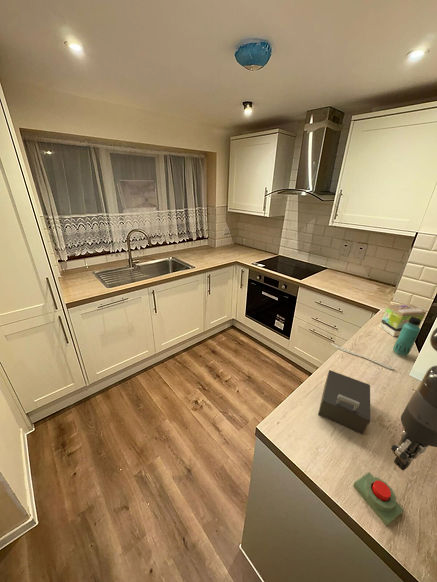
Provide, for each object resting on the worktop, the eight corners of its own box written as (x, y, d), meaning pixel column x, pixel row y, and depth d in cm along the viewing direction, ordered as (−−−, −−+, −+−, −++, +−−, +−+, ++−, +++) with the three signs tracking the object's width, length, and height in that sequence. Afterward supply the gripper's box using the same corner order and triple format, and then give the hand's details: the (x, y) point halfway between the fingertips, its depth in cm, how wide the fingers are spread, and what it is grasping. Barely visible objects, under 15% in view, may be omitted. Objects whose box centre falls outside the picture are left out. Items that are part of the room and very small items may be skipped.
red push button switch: (368, 475, 65) (372, 467, 64) (402, 512, 58) (407, 505, 56) (352, 486, 63) (355, 478, 61) (385, 527, 55) (390, 520, 54)
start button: (377, 481, 61) (380, 477, 60) (391, 496, 58) (394, 493, 57) (368, 488, 60) (370, 484, 59) (382, 504, 57) (385, 500, 56)
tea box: (393, 337, 126) (403, 313, 120) (378, 326, 135) (387, 304, 128) (416, 334, 129) (427, 311, 123) (399, 324, 138) (409, 302, 131)
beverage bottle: (389, 353, 113) (405, 318, 105) (393, 347, 118) (408, 313, 109) (406, 360, 109) (423, 324, 101) (409, 354, 113) (426, 319, 105)
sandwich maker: (362, 435, 76) (368, 422, 73) (318, 414, 82) (322, 402, 79) (363, 400, 88) (368, 387, 85) (324, 384, 94) (328, 372, 92)
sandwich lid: (368, 424, 72) (374, 413, 70) (321, 403, 78) (325, 392, 76) (368, 387, 85) (373, 377, 83) (328, 372, 92) (331, 362, 89)
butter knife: (393, 370, 102) (394, 366, 104) (329, 344, 117) (331, 341, 119) (393, 371, 102) (394, 367, 104) (329, 345, 118) (331, 342, 120)
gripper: (434, 445, 41) (399, 497, 48) (471, 418, 46) (434, 468, 54) (391, 410, 47) (366, 461, 55) (428, 389, 52) (400, 438, 60)
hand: (400, 465), depth 54 cm, fingers closed
